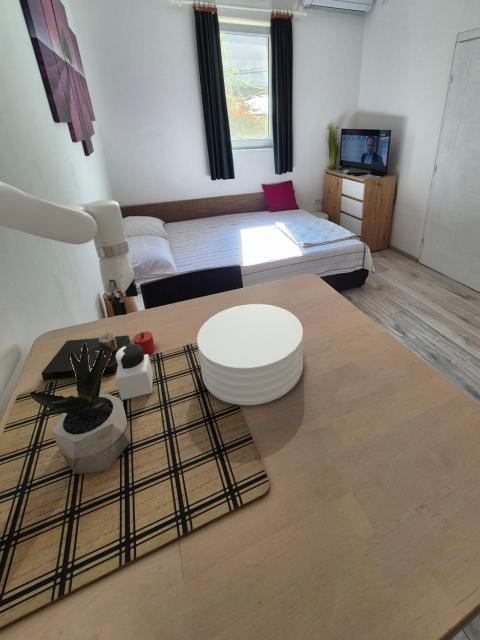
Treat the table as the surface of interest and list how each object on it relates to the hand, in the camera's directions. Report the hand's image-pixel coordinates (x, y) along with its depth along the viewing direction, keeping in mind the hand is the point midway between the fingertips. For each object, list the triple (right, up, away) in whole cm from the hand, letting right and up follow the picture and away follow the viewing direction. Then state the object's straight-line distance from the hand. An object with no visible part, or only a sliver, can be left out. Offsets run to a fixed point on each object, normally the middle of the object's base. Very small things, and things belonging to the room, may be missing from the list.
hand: (126, 305), depth 91 cm
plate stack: (+35, -17, +1) cm, 39 cm away
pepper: (+2, -15, +7) cm, 16 cm away
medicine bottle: (+6, -21, -6) cm, 22 cm away
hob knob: (-6, -14, +3) cm, 15 cm away
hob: (-12, -16, +3) cm, 21 cm away
